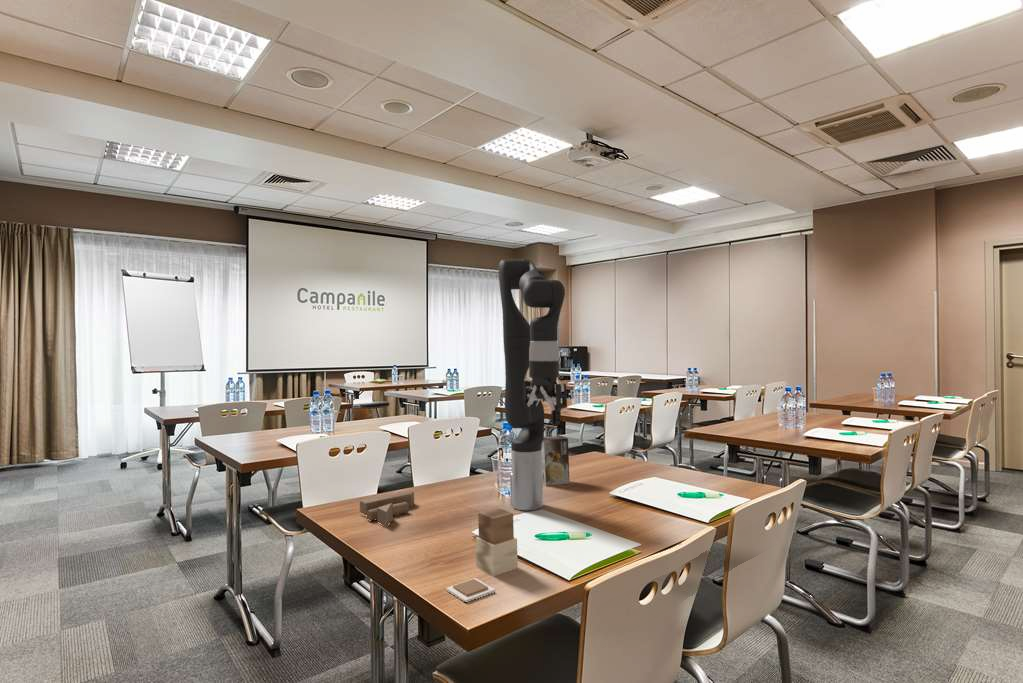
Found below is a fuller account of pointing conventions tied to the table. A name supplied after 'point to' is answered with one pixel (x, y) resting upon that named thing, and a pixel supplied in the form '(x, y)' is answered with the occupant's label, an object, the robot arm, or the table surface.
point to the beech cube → (496, 556)
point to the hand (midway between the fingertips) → (544, 423)
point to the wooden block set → (387, 506)
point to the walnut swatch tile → (470, 590)
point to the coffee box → (555, 461)
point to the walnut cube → (496, 525)
